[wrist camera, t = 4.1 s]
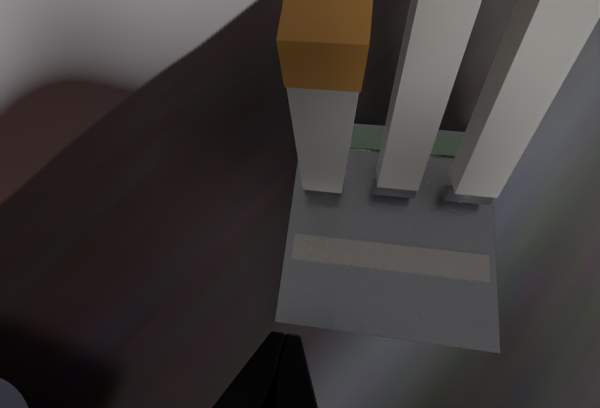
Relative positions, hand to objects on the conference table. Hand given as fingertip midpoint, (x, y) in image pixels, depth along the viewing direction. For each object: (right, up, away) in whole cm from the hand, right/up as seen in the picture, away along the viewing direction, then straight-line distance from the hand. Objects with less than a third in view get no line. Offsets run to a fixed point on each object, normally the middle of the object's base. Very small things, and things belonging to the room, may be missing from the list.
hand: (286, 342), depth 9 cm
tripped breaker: (+2, +5, +12) cm, 13 cm away
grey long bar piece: (+6, +5, +12) cm, 14 cm away
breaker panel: (+6, +2, +13) cm, 15 cm away
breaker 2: (+11, +5, +11) cm, 16 cm away
